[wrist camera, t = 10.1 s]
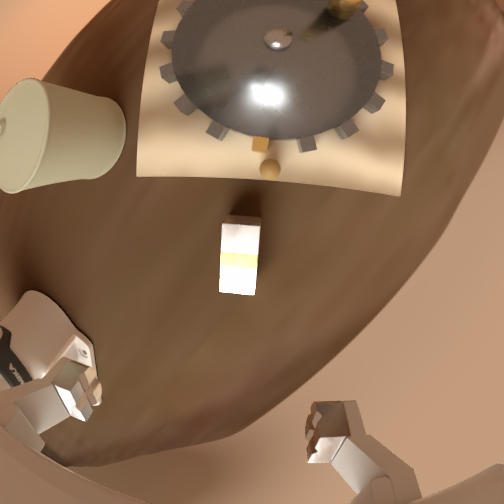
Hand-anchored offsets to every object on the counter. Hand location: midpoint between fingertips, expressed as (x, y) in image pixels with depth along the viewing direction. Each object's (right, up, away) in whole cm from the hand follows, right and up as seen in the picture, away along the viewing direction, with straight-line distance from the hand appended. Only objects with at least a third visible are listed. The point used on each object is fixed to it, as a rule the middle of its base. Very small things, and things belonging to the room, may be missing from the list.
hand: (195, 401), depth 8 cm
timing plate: (+4, +24, +12) cm, 27 cm away
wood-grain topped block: (+1, +6, +18) cm, 19 cm away
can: (-15, +18, +15) cm, 28 cm away
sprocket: (+4, +23, +11) cm, 26 cm away
